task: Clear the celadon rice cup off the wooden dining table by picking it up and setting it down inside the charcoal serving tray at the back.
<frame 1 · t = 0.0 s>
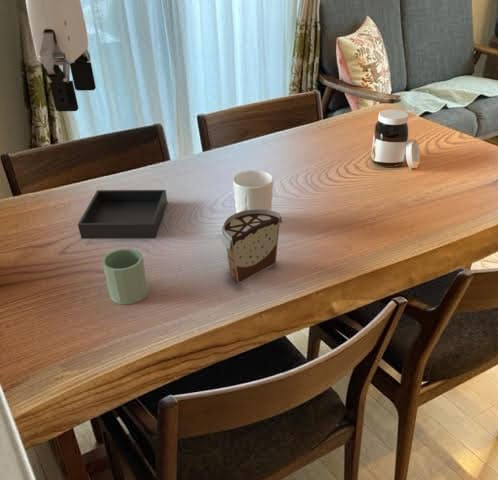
hand: (77, 99, 81), 30 cm above the table, tool pointing down, fingers open, 9 cm apart
white cup: (253, 224, 111), on the table
serving tray: (126, 219, 114), on the table
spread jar: (394, 164, 133), on the table
rice cup: (129, 293, 93), on the table
food container: (246, 268, 99), on the table
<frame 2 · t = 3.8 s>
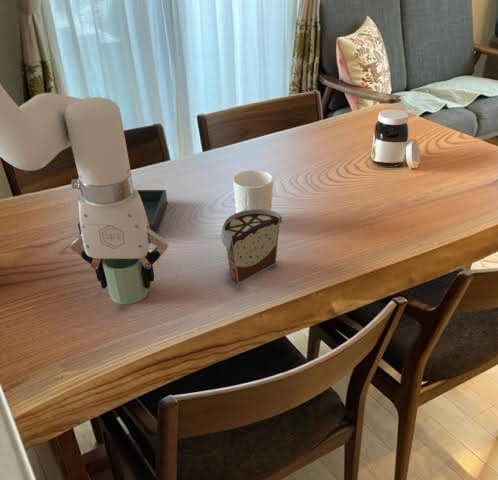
hand: (127, 283, 92), 2 cm above the table, tool pointing down, fingers closed on rice cup, 6 cm apart
rice cup: (129, 293, 93), on the table, touching gripper
everything else where it was.
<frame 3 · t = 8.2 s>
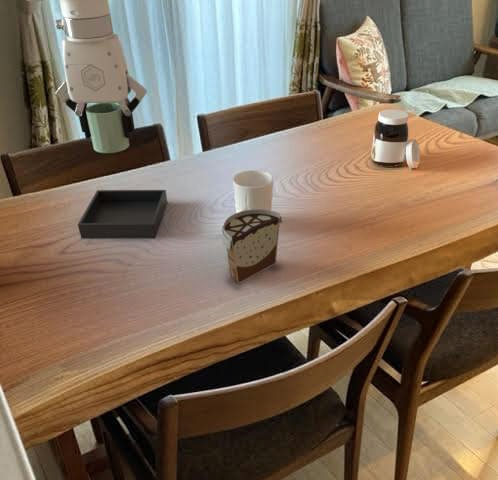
hand: (109, 135, 99), 19 cm above the table, tool pointing down, fingers closed on rice cup, 6 cm apart
rice cup: (111, 146, 100), point 17 cm above the table, touching gripper
everything else where it was.
when the fingers open (3 cm above the table, at t = 12.5 s): rice cup stays where it is, resting on serving tray.
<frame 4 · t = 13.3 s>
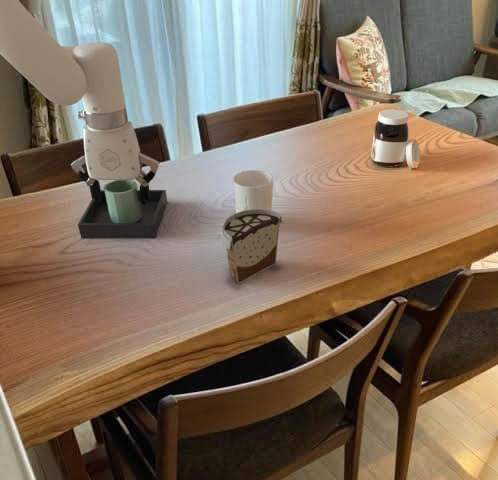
hand: (122, 201, 111), 4 cm above the table, tool pointing down, fingers open, 9 cm apart
rice cup: (126, 217, 113), point 1 cm above the table, touching serving tray
everything else where it was.
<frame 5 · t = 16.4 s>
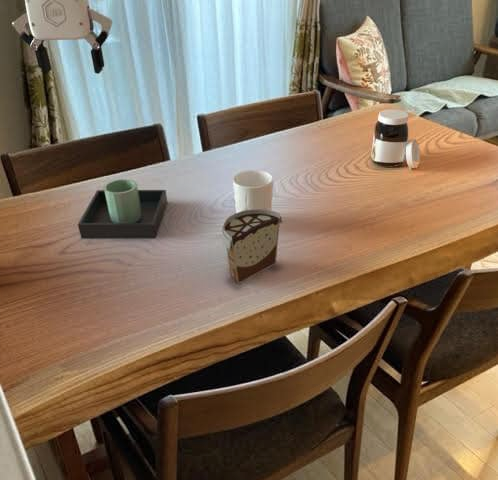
hand: (73, 72, 99), 28 cm above the table, tool pointing down, fingers open, 9 cm apart
nothing on the table moved.
at the end: rice cup inside the target area in the serving tray (0.0 cm from its centre), point 0.6 cm above the serving tray's base; rice cup tilted 0°; the gripper is holding nothing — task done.
